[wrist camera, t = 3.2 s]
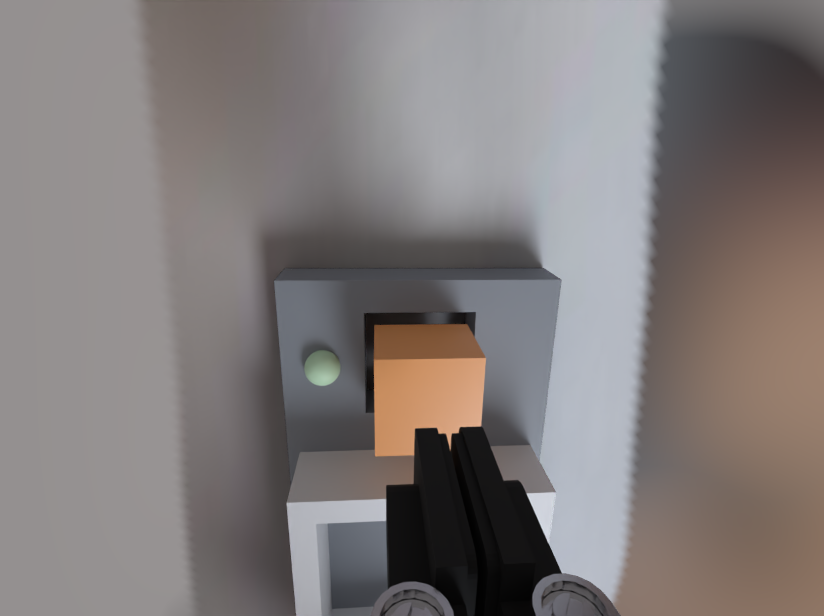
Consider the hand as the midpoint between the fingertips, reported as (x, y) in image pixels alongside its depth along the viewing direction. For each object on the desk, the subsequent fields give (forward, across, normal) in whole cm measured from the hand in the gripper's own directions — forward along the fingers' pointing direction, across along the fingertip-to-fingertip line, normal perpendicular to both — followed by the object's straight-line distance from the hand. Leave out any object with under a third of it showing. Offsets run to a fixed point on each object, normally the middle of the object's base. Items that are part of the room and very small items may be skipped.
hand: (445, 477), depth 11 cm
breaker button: (+7, 0, 0) cm, 7 cm away
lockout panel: (+9, 0, +6) cm, 11 cm away
